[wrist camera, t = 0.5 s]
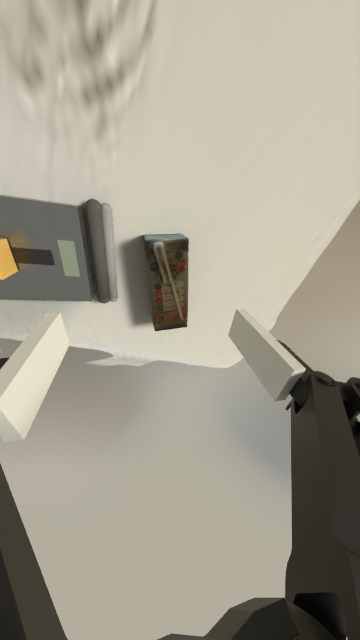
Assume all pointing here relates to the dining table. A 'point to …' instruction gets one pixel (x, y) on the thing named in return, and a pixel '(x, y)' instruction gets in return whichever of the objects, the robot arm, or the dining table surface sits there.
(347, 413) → the robot arm
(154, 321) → the beverage carton
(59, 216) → the breaker panel
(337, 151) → the dining table surface
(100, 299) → the grey rounded bar
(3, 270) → the toggle
